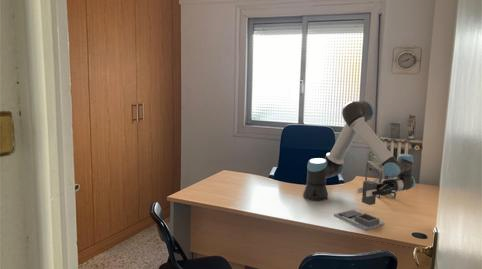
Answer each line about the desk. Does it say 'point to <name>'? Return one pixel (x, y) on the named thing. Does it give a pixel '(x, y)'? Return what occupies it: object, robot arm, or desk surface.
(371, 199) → the brick
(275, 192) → the desk surface
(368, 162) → the newton's cradle
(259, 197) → the desk surface
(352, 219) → the charging dock
